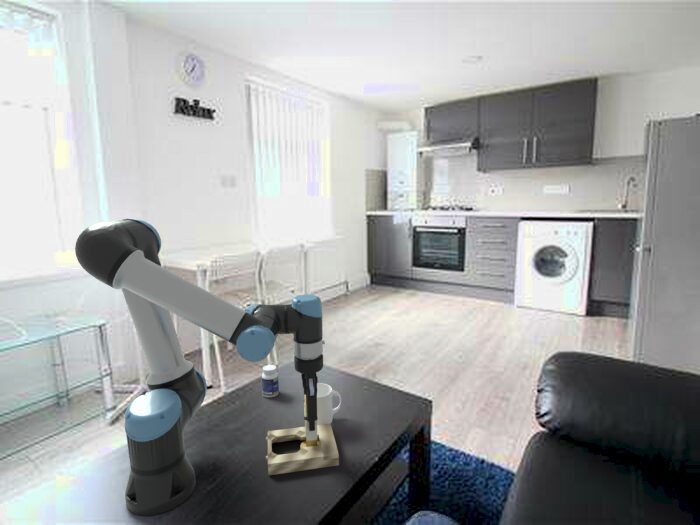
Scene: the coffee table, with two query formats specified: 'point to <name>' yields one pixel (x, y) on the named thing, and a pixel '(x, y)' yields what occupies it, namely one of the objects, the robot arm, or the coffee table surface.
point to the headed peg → (306, 443)
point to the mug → (325, 404)
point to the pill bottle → (270, 381)
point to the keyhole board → (302, 451)
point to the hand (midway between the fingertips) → (311, 435)
